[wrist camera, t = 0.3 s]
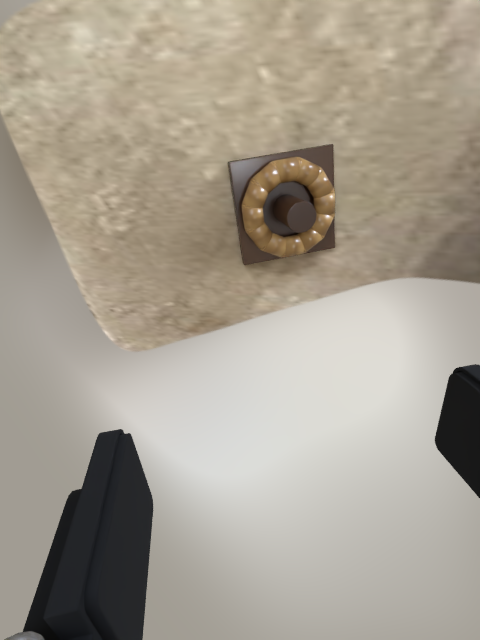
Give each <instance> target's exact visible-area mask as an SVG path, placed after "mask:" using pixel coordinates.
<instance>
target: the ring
mask: <svg viewBox="0 0 480 640" xmlns="http://www.w3.org/2000/svg"><path fill="white" fill-rule="evenodd" d="M291 181H296V182H298V183H300V184H302V185H305V186H306V187H307V188H308V190H309V191H310V193H311V194H312V196H313V198H314V208H315V210H316V221H315V223H314V225H313V226H312V228H311V229H309V230H308V231H306V232H303V233H298V234H297V235H292V236H287V237H282V236H280V235H277V234H275V233H272V232H271V230H270V229H269V228H268V226H267V225H266V224H265V222H264V214H263V206H264V204H265V201H266V199H267V196H268V193H270V192H271V191H272V190H273V189H274V188H275V187H277V186H278V185H279V184H280V183H285V182H291ZM242 214H243V222H244V228H245V231H246V233H247V234H248V236H249V237H250V238H251V239H252V241H253V242H254V243H255V244H256V246H257V247H258V248H259V249H260V250H262V251H264V252H267V253H270V254H272V255H275V256H278V257H288V256H294V255H299V254H304V253H306V252H307V251H308V250H310V249H311V248H312V247H313V246H315V245H316V244H317V243H318V242H320V241H321V240H322V239H323V238H324V237H325V235H326V233H327V231H328V229H329V227H330V224H331V222H332V220H333V218H334V216H335V190H334V187H333V186H332V184H331V182H330V181H329V179H328V177H327V176H326V174H325V172H324V170H323V169H322V168H321V167H320V166H318V165H316V164H314V163H311V162H309V161H307V160H305V159H303V158H301V157H291V158H286V159H280V160H274V161H272V162H270V163H269V164H268V165H267V166H265V167H264V168H263V169H262V170H261V171H260V172H259V173H257V174H256V175H255V176H254V177H253V178H252V179H251V181H250V183H249V186H248V188H247V191H246V194H245V196H244V199H243V202H242Z"/></svg>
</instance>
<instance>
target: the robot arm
mask: <svg viewBox="0 0 480 640" xmlns="http://www.w3.org/2000/svg"><path fill="white" fill-rule="evenodd" d="M435 443H436V446H437V448H438V450H439V451H440V452H441V454H442V455H443V456H444V457H445V458H446V460H447V461H448V462H449V463H450V464H451V465H452V466H453V468H454V469H455V470H456V471H457V472H458V474H459V475H460V476H461V477H462V478H463V479H464V481H465V482H466V483H467V484H468V485H469V486H470V487H471V489H472V490H473V491H474V492H475V493H476V494H477V496H478V497H479V498H480V365H476V364H475V365H470V366H464V367H459V368H456V369H455V370H454V371H453V374H451V375H450V377H449V380H448V384H447V389H446V393H445V397H444V402H443V406H442V410H441V415H440V419H439V423H438V427H437V432H436V436H435ZM152 517H153V499H152V495H151V492H150V489H149V486H148V483H147V480H146V477H145V474H144V471H143V468H142V465H141V463H140V460H139V456H138V454H137V451H136V448H135V445H134V442H133V439H132V436H131V434H130V433H128V434H124V432H123V430H121V429H119V430H114V431H108V432H103V433H100V434H99V435H98V437H97V440H96V443H95V446H94V450H93V453H92V456H91V460H90V463H89V466H88V470H87V473H86V476H85V480H84V483H83V486H82V489H79V490H75V491H72V492H71V494H70V495H69V496H68V499H67V501H66V504H65V507H64V510H63V513H62V516H61V519H60V522H59V525H58V528H57V531H56V534H55V537H54V540H53V543H52V546H51V549H50V552H49V555H48V558H47V561H46V564H45V567H44V570H43V573H42V576H41V579H40V581H39V585H38V587H37V591H36V594H35V597H34V600H33V603H32V605H31V609H30V611H29V614H28V617H27V621H26V623H25V627H24V629H23V632H21V633H17V634H15V635H13V636H11V637H9V638H7V639H5V640H142V638H143V625H144V613H145V600H146V589H147V577H148V565H149V553H150V541H151V529H152Z"/></svg>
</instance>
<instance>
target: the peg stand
mask: <svg viewBox="0 0 480 640" xmlns="http://www.w3.org/2000/svg"><path fill="white" fill-rule="evenodd" d="M291 157H301V158H303V159H305V160H307V161H309V162H311V163H314V164H316V165H318V166H320V167H321V168H322V169H323V170H324V172H325V174H326V176H327V177H328V179H329V181H330V182H331V184H332V186H333V187H334V164H333V144H329V145H323V146H317V147H312V148H306V149H300V150H294V151H288V152H282V153H277V154H271V155H265V156H259V157H253V158H248V159H242V160H236V161H230V162H228V166H229V172H230V179H231V186H232V193H233V199H234V206H235V213H236V219H237V226H238V233H239V239H240V246H241V253H242V259H243V263H244V265H248V264H253V263H258V262H263V261H269V260H274V259H279V258H284V257H278V256H275V255H272V254H270V253H267V252H264V251H262V250H260V249H259V248H258V247H257V246H256V244H255V243H254V242H253V241H252V239H251V238H250V237H249V236H248V234H247V233H246V231H245V228H244V222H243V214H242V202H243V199H244V196H245V194H246V191H247V188H248V186H249V183H250V181H251V179H252V178H253V177H254V176H255V175H256V174H257V173H259V172H260V171H261V170H262V169H263V168H264V167H265V166H267V165H268V164H269V163H270V162H272V161H274V160H280V159H286V158H291ZM263 214H264V222H265V224H266V225H267V226H268V228H269V229H270V230H271V232H272V233H275V234H277V235H280V236H282V237H287V236H292V235H297V234H298V233H303V232H306V231H308V230H309V229H311V228H312V226H313V225H314V223H315V221H316V210H315V208H314V198H313V196H312V194H311V193H310V191H309V190H308V188H307V187H306V186H305V185H302V184H300V183H298V182H296V181H291V182H285V183H280V184H279V185H278V186H277V187H275V188H274V189H273V190H272V191H271V192H270V193H268V196H267V199H266V201H265V204H264V206H263ZM331 248H335V233H334V218H333V220H332V222H331V224H330V227H329V229H328V231H327V233H326V235H325V237H324V238H323V239H322V240H321V241H320V242H318V243H317V244H316V245H315V246H313V247H312V248H311V249H310V250H308V251H307V252H306V253H310V252H315V251H320V250H325V249H331ZM304 254H305V253H304ZM299 255H300V254H299ZM288 257H289V256H288Z"/></svg>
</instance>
